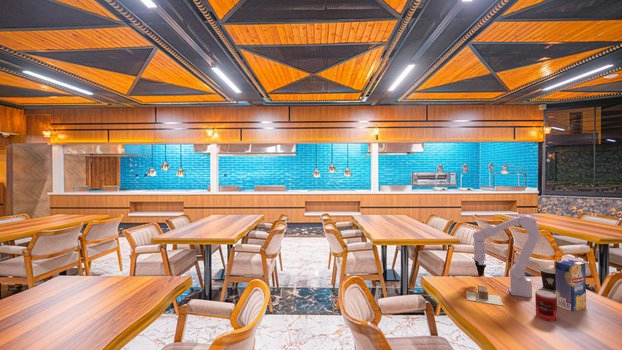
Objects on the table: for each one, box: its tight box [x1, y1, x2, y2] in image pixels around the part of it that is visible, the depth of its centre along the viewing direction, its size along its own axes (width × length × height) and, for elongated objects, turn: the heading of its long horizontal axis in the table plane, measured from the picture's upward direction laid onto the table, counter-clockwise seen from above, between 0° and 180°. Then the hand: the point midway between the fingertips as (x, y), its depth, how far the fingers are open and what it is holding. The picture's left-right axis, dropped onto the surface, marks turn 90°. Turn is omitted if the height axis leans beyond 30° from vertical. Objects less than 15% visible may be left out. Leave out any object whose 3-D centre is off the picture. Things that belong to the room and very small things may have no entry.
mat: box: [465, 290, 504, 307], centre depth 151 cm, size 16×12×1 cm
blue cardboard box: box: [554, 258, 587, 312], centre depth 140 cm, size 7×11×22 cm, turn 109°
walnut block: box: [477, 284, 489, 300], centre depth 153 cm, size 4×4×9 cm
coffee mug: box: [539, 268, 556, 292], centre depth 161 cm, size 12×9×10 cm
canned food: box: [534, 289, 558, 322], centre depth 130 cm, size 8×8×11 cm
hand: (480, 273), depth 168 cm, fingers open, 7 cm apart
